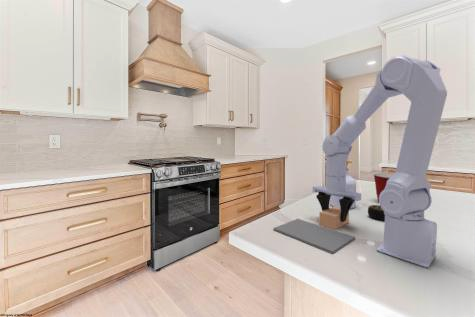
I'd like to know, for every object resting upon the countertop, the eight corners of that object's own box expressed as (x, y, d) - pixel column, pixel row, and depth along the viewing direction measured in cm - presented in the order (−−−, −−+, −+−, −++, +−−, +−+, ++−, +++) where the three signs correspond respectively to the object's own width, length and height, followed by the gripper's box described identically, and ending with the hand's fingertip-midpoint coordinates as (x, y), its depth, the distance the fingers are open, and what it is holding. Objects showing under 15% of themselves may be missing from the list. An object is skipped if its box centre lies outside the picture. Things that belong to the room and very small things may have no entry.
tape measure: (388, 223, 70) (389, 212, 70) (364, 218, 75) (365, 207, 75) (393, 218, 75) (394, 207, 75) (370, 213, 80) (371, 203, 80)
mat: (355, 239, 59) (355, 236, 59) (332, 254, 52) (332, 251, 52) (297, 220, 73) (297, 218, 73) (273, 230, 66) (273, 228, 65)
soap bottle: (359, 209, 84) (362, 144, 82) (335, 209, 85) (337, 144, 82) (348, 202, 93) (350, 143, 91) (326, 202, 93) (328, 143, 91)
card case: (348, 222, 71) (349, 210, 71) (334, 229, 66) (335, 216, 65) (333, 218, 75) (333, 206, 75) (319, 224, 69) (319, 212, 69)
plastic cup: (404, 208, 85) (406, 177, 84) (371, 204, 91) (372, 175, 90) (401, 201, 95) (403, 173, 93) (371, 198, 100) (373, 171, 99)
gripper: (366, 177, 66) (364, 221, 67) (320, 171, 77) (319, 210, 78) (356, 180, 62) (354, 227, 63) (309, 173, 73) (308, 214, 74)
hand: (334, 218), depth 70 cm, fingers closed on card case, 5 cm apart
